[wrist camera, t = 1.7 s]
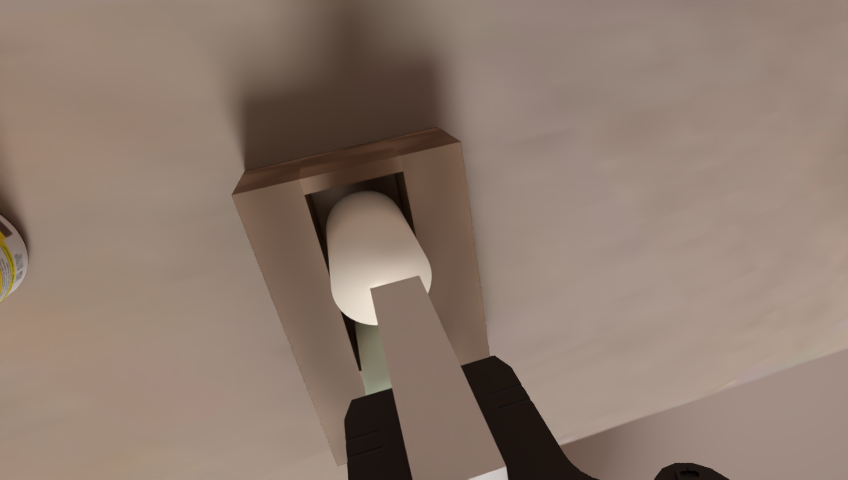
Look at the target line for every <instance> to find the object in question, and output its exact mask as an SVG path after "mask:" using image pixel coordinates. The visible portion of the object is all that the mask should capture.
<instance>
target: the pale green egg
mask: <svg viewBox="0 0 848 480" xmlns="http://www.w3.org/2000/svg"><path fill="white" fill-rule="evenodd" d="M355 330H356V337H357V343H358V349H359V355H360V362H361V368H362V374H363V380H364V387H365V393H366V395H369V394H373V393H376V392H379V391H383V390H386V389H389V388H392V385H391V381H390V376H389V372H388V367H387V363H386V358H385V354H384V349H383V345H382V341H381V336H380V332H379V327H378V325H368V324H363V323H360V322H357V321H355Z"/></svg>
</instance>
